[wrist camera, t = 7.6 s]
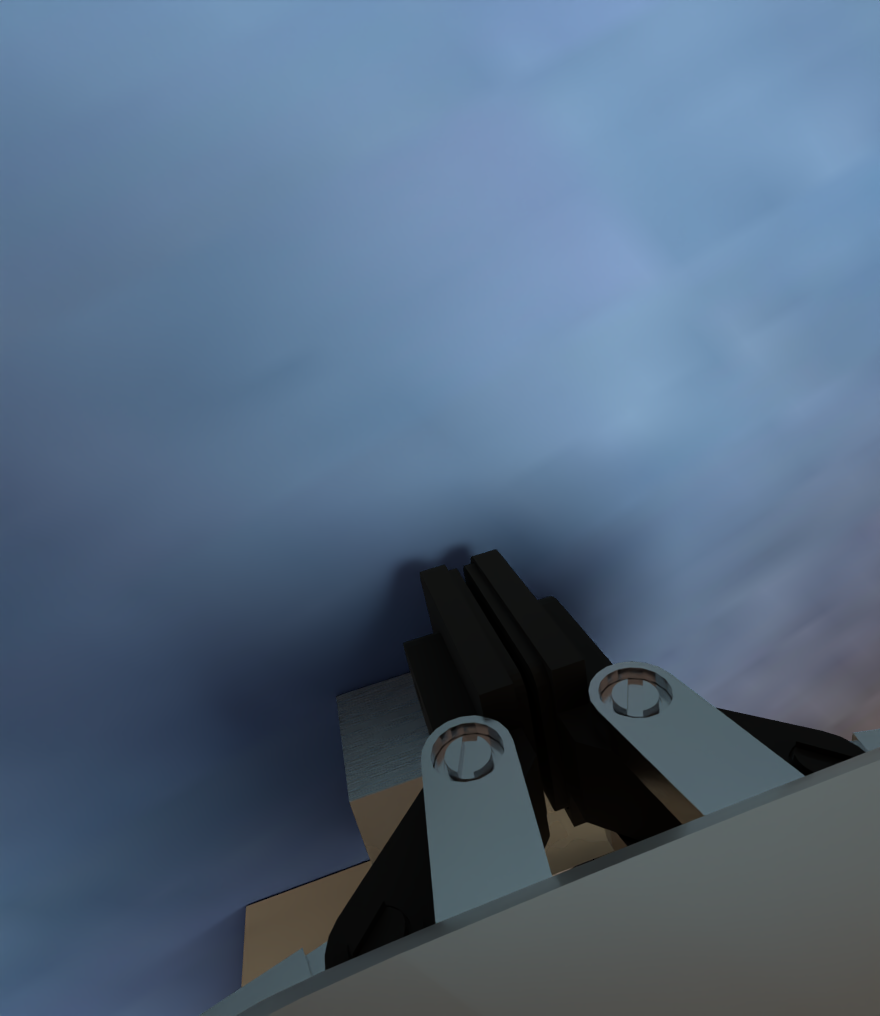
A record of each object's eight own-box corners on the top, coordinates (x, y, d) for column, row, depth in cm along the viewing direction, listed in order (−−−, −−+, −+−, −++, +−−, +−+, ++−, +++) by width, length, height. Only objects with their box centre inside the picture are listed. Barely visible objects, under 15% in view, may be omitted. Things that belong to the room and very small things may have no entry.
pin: (336, 696, 13) (349, 802, 11) (569, 621, 14) (636, 700, 12) (470, 1092, 20) (498, 1216, 18) (620, 1026, 21) (669, 1134, 19)
